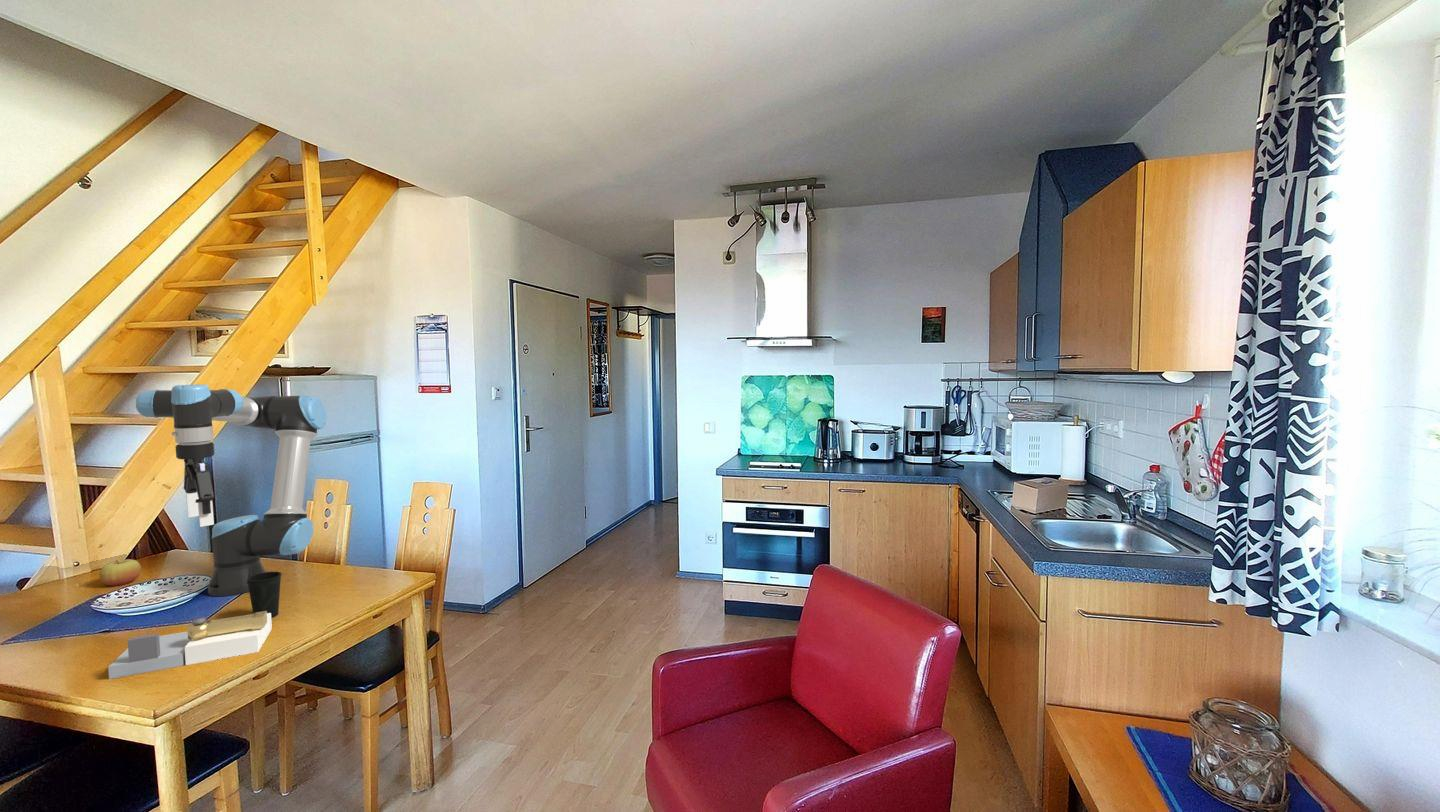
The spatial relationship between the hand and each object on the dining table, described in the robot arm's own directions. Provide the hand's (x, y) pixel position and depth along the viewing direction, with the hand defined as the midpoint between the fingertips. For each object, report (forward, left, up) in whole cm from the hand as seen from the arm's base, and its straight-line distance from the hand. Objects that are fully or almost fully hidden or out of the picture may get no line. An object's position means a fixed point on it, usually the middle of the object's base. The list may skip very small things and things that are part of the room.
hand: (200, 520), depth 153 cm
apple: (-61, -38, -32) cm, 78 cm away
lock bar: (+14, +8, -26) cm, 31 cm away
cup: (-6, +12, -32) cm, 34 cm away
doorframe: (+12, +1, -31) cm, 33 cm away
